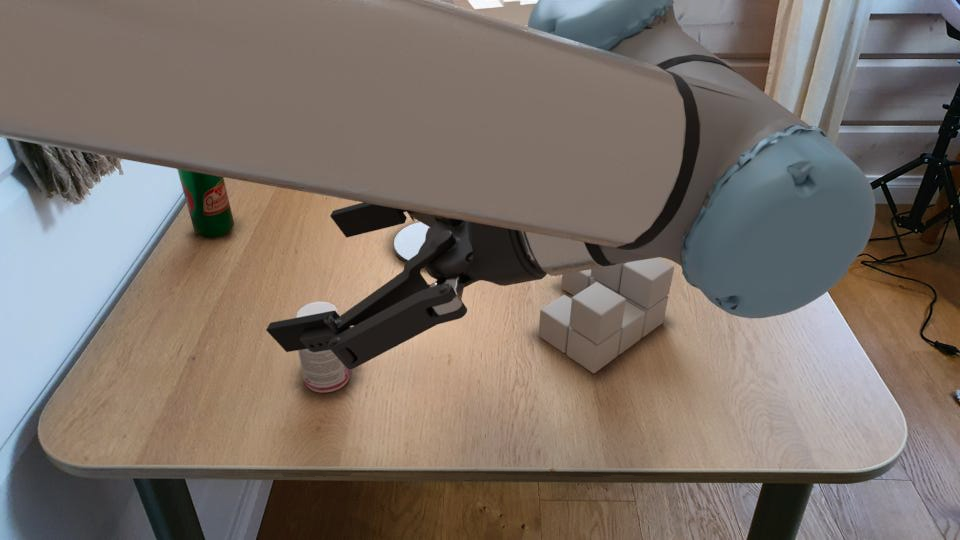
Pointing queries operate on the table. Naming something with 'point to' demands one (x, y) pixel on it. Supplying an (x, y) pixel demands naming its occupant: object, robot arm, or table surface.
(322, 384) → the pill bottle
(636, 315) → the puzzle cube
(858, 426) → the table surface
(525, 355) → the table surface
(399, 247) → the round mirror
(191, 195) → the soda can
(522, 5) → the blocky voxel creature
